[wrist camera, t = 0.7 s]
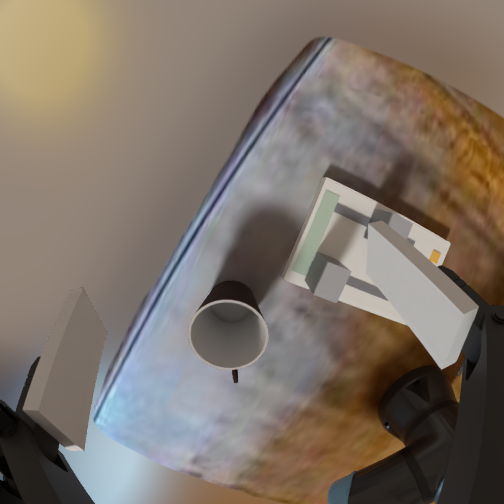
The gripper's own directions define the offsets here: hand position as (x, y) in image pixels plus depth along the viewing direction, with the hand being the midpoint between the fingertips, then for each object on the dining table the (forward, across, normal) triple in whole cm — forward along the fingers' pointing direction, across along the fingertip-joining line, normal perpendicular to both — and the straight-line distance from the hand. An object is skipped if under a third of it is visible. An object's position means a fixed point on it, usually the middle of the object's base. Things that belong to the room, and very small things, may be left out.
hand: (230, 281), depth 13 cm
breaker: (+20, -11, +15) cm, 27 cm away
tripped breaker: (+20, -20, +11) cm, 30 cm away
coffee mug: (+22, +2, +20) cm, 30 cm away
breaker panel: (+21, -19, +16) cm, 33 cm away
